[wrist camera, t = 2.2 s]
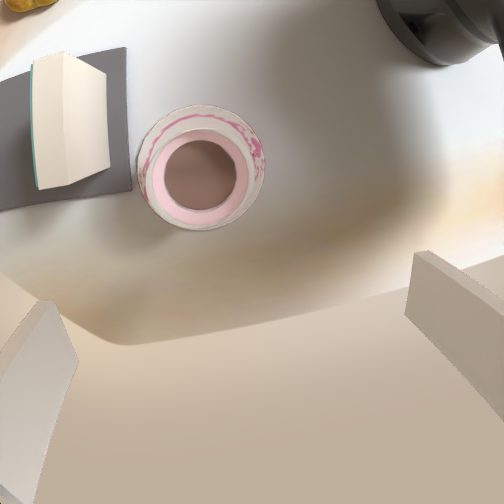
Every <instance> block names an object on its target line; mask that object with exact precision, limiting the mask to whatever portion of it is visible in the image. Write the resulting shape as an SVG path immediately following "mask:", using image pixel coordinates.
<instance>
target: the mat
mask: <svg viewBox="0 0 504 504" xmlns="http://www.w3.org/2000/svg"><path fill="white" fill-rule="evenodd" d="M76 58H78V59H80V60H81V61H83V62H85V63H87V64H89V65H91V66H92V67H94V68H96V69H98V70H100V71H101V72H103V73H105V74H106V97H107V126H108V143H109V156H110V167H109V168H107V169H104V170H102V171H100V172H97V173H95V174H92V175H90V176H88V177H85V178H83V179H81V180H78V181H76V182H74V183H72V184H69V185H65V186H59V187H53V188H47V189H42V190H39V187H36V181H35V173H34V164H33V153H32V140H31V120H30V75H31V71H28V72H26V73H23V74H20V75H17V76H15V77H12V78H9V79H7V80H4V81H2V82H0V211H1V210H6V209H12V208H17V207H23V206H28V205H34V204H40V203H46V202H53V201H59V200H66V199H73V198H80V197H87V196H94V195H102V194H110V193H119V192H127V191H132V182H131V171H130V159H129V145H128V128H127V102H126V48H125V47H122V48H116V49H111V50H106V51H101V52H97V53H92V54H88V55H83V56H79V57H76Z"/></svg>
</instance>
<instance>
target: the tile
mask: <svg viewBox="0 0 504 504" xmlns="http://www.w3.org/2000/svg"><path fill="white" fill-rule="evenodd" d="M30 120H31V140H32V153H33V164H34V173H35V181H36V187H39V190H42V189H47V188H53V187H59V186H65V185H69V184H72V183H74V182H76V181H78V180H81V179H83V178H85V177H88V176H90V175H92V174H95V173H97V172H100V171H102V170H104V169H107V168H109V167H110V156H109V143H108V126H107V97H106V74H105V73H103V72H101V71H100V70H98V69H96V68H94V67H92V66H91V65H89V64H87V63H85V62H83V61H81V60H80V59H78V58H76V57H74V56H72V55H70V54H68V53H66V52H65V51H62V52H58V53H55V54H52V55H48V56H45V57H42V58H39V59H36V60H33V64H32V65H31V75H30Z"/></svg>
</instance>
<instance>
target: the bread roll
mask: <svg viewBox="0 0 504 504" xmlns="http://www.w3.org/2000/svg"><path fill="white" fill-rule="evenodd" d="M56 1H57V0H4V2H5V4H6V5H7V6H8V8H9V9H10V10H12V11H15V12H24V11H28V10H31V9H34V8H37V7H40V6H46V5H49V4H52V3H54V2H56Z"/></svg>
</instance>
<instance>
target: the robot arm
mask: <svg viewBox="0 0 504 504" xmlns="http://www.w3.org/2000/svg"><path fill="white" fill-rule="evenodd" d="M377 2H378V5H379V8H380V10H381V13H382V15H383V17H384V18H385V20H386V22H387V24H388V25H389V27H390V28H391V30H392V31H393V32H394V34H395V35H396V36H397V37H398V38H399V39H400V41H401V42H402V43H403V44H404V45H405V46H406V47H407V48H409V49H410V50H411V51H412V52H413V53H415V54H416V55H418V56H419V57H421V58H422V59H424V60H426V61H428V62H431V63H433V64H437V65H454V64H460V63H464V62H466V61H468V60H470V59H471V58H472V57H474V56H475V55H477V54H478V53H480V52H481V51H483V50H484V49H486V48H487V47H489V46H490V45H492V44H499V47H500V50H501V53H502V56H503V60H504V0H377ZM405 316H406V317H407V318H408V319H409V320H410V321H411V322H412V323H413V324H414V325H415V326H416V327H417V328H418V329H419V330H420V331H421V332H422V333H423V334H424V335H425V336H426V337H427V338H428V339H429V340H430V341H431V342H432V343H433V344H434V345H435V346H436V347H437V348H438V349H439V350H440V351H441V352H442V354H443V355H444V356H446V358H447V359H448V360H449V361H450V362H451V363H452V364H453V365H454V366H455V367H456V368H457V369H458V371H459V372H460V373H461V374H462V375H463V376H464V377H465V378H466V379H467V380H468V381H469V382H470V384H471V385H472V386H473V387H474V388H475V389H476V390H477V391H478V392H479V394H480V395H481V396H482V397H483V398H484V399H485V400H486V402H487V403H488V404H489V405H490V406H491V407H492V408H493V410H494V411H495V412H496V413H497V414H498V415H499V417H500V418H501V419H502V420H503V421H504V300H503V299H502V298H500V297H499V296H497V295H496V294H494V293H493V292H491V291H490V290H489V289H487V288H485V287H484V286H483V285H481V284H480V283H479V282H477V281H475V280H474V279H472V278H471V277H470V276H468V275H467V274H465V273H464V272H462V271H460V270H459V269H457V268H456V267H454V266H453V265H451V264H450V263H448V262H446V261H445V260H443V259H442V258H440V257H439V256H437V255H435V254H434V253H432V252H431V251H429V250H428V251H422V252H416V253H414V258H413V265H412V272H411V279H410V286H409V292H408V298H407V304H406V309H405ZM78 363H79V360H78V358H77V355H76V353H75V351H74V349H73V346H72V344H71V342H70V339H69V337H68V334H67V332H66V329H65V327H64V325H63V322H62V319H61V317H60V314H59V311H58V309H57V306H56V303H55V300H45V301H38V302H37V303H36V304H35V305H34V307H33V308H32V309H31V310H30V312H29V313H28V314H27V316H26V317H25V318H24V320H23V321H22V322H21V324H20V325H19V326H18V328H17V329H16V330H15V332H14V333H13V335H12V336H11V337H10V339H9V340H8V342H7V343H6V344H5V346H4V347H3V349H2V350H1V352H0V495H2V496H3V497H4V498H5V499H6V500H8V501H9V502H10V503H11V504H33V501H34V497H35V493H36V489H37V485H38V481H39V477H40V474H41V470H42V466H43V463H44V459H45V456H46V453H47V449H48V446H49V443H50V440H51V436H52V433H53V430H54V427H55V424H56V422H57V419H58V416H59V413H60V410H61V407H62V405H63V402H64V399H65V396H66V394H67V391H68V388H69V386H70V383H71V381H72V378H73V376H74V373H75V371H76V368H77V365H78ZM0 504H1V503H0Z"/></svg>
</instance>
